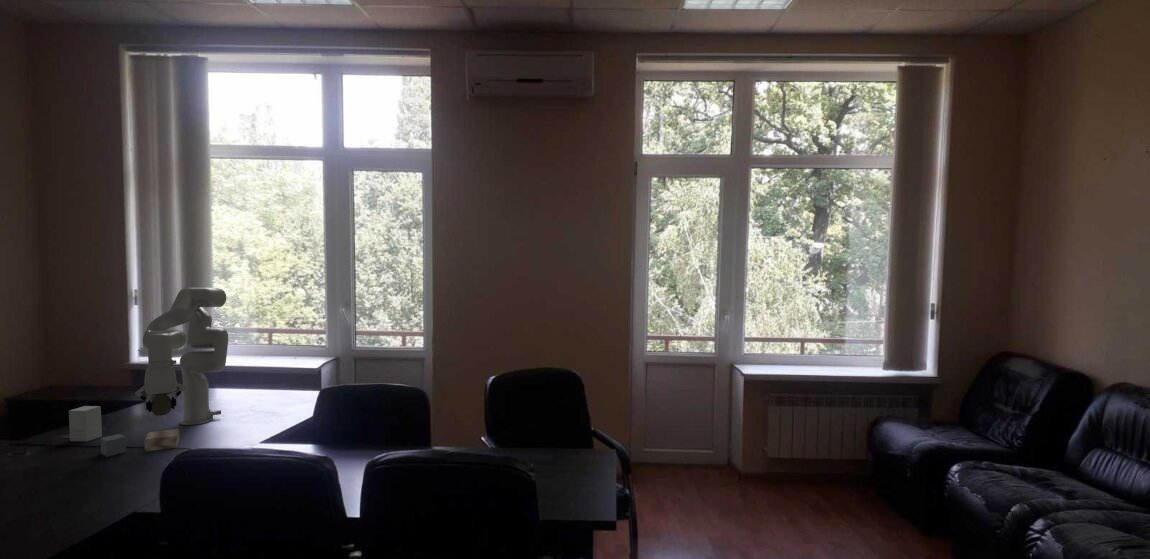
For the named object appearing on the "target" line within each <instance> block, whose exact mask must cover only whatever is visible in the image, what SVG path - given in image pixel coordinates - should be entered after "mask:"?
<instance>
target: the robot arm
mask: <svg viewBox="0 0 1150 559" xmlns="http://www.w3.org/2000/svg"><path fill="white" fill-rule="evenodd" d="M226 302H227V294H226V291H225V290H223V289H222V288H215V287H206V286H205V287H185V288H182V289H180V290H179V291H178V293H177V295H176V296H175V299H174V301H173V302H172V305H171V307H170V309H169V310H168V311H166V312H164V313H162V314H161V315H159V316H158V317H156V318H154V319H153V320H151V322H150V323H149V324H148V326H147V327H146V329H145V332H144V333H143V336H142V340H141V341H142V345H143V347H144V348H146V349H147V358H148V359H147V361H148V362H147V364H148V368H146V369H145V374H144V382H143V384H144V385H143V386H141V387H140V388H139V389H138V390H137V391H136V392H135V395H136V396H137V397H138V398H139V399H141V400H142V401H144V402H145V410H146V411H148V413H152V412H151V402H152V400H151V398H152V397H153V396H156V395H157V394H165V393H166V394H170V395H171V397H170V399H171V401H172V408H171V410H174V409H175V407H176V406H177V398H178V397H179V396H181V394H182V395H183V398H182V399H183V418H182V419H180V420H179V424H180V425H183V426H197V425H201V424H207V423H209V422H212V421H213V420H214V416H216V415H217V416H218V415H222V409H220V410H217V409H215V410H211V409H210V406H209V405H210V403H209V402H210V399H209V394H210V393H209V392H210V390H209V381H208V380H209V379H208V378H207V377H206V375H205V374H204V373H219V372H222V371H224V369H225V367H226V363H227V354H228V347H229V334H228V331H227V329H226V328H223V327H212V324H213V323H212V320H213V318H212V315H211V314H210V312H208V310H206V309H205V308H221V307H223V306H225V304H226ZM186 323H189V324H188V331H187V335H186V333H185V332H183V331H182V330H178V329H173V330H172V329H170V328H174V327H177V326H181V325H185V324H186ZM168 329H169V330H168ZM185 344H187V347H188V348H190V349H193V351H188V352H185V353H183V354H182V355H181V356H180V359H179V367H180V370H181V375H182V383H181V382H178V381H177V375H176V370H175V366H174V365H176V364H177V360H176V359H175V360H173V353H172V352H173V351H172V350H177V349H181V348H182V347H183V346H185ZM208 349H213V350H208ZM195 350H199V351H195ZM204 350H205V351H204ZM177 387H178V388H179V389H178V388H177ZM177 390H178V391H177ZM142 392H144V393H145V395H146V396H145V395H144V394H142Z"/></svg>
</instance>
